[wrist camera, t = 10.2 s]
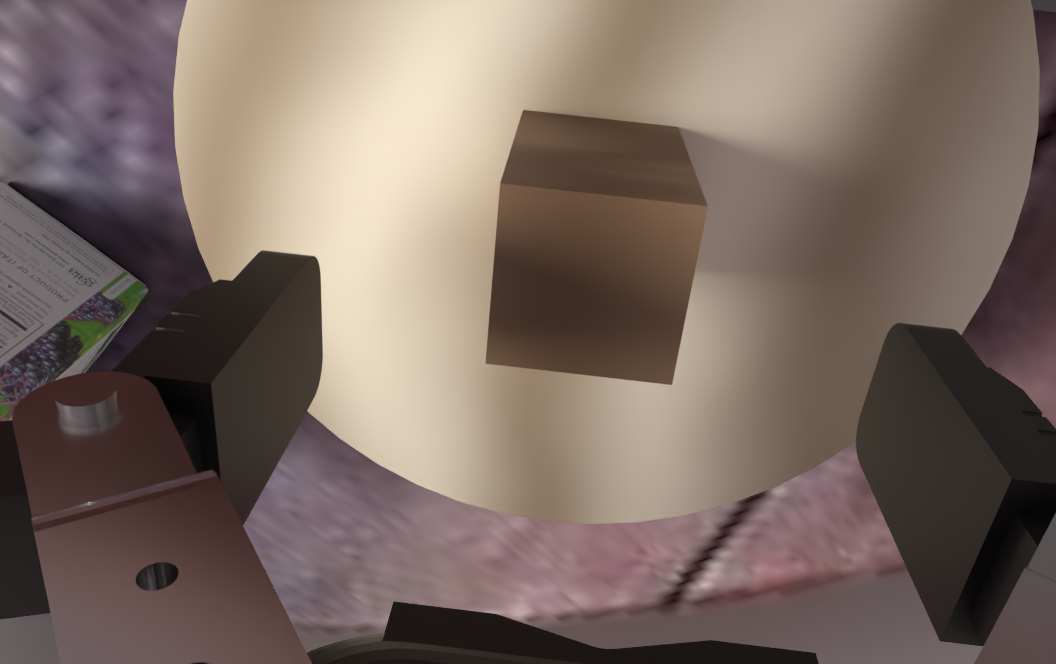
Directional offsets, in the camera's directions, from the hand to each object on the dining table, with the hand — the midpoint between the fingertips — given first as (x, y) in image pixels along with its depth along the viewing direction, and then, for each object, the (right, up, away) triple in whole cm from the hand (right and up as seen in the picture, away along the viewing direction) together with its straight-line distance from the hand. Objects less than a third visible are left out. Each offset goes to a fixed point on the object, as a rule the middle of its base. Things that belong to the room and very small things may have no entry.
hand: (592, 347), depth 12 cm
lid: (0, +4, +7) cm, 8 cm away
